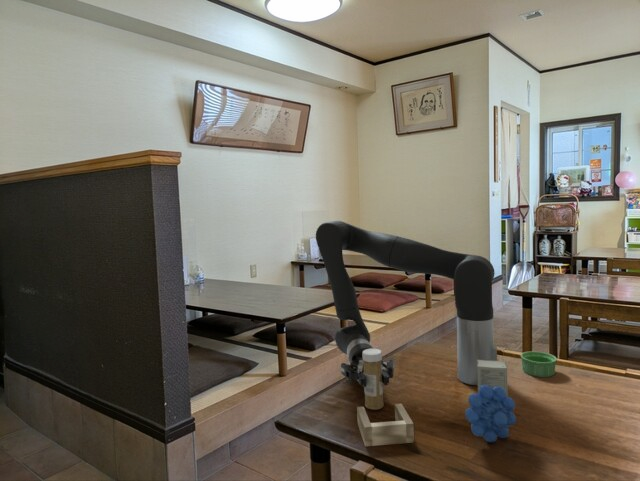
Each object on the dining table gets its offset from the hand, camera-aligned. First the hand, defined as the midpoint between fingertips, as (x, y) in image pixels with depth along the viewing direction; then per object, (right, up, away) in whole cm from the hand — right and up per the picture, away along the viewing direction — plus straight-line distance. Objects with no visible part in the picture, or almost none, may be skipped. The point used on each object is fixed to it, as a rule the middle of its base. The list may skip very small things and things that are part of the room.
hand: (375, 382), depth 102 cm
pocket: (+1, -8, -8) cm, 12 cm away
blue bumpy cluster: (+22, -8, -14) cm, 27 cm away
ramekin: (+48, -4, +21) cm, 53 cm away
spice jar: (0, -7, +3) cm, 8 cm away
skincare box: (+26, -7, -3) cm, 27 cm away
